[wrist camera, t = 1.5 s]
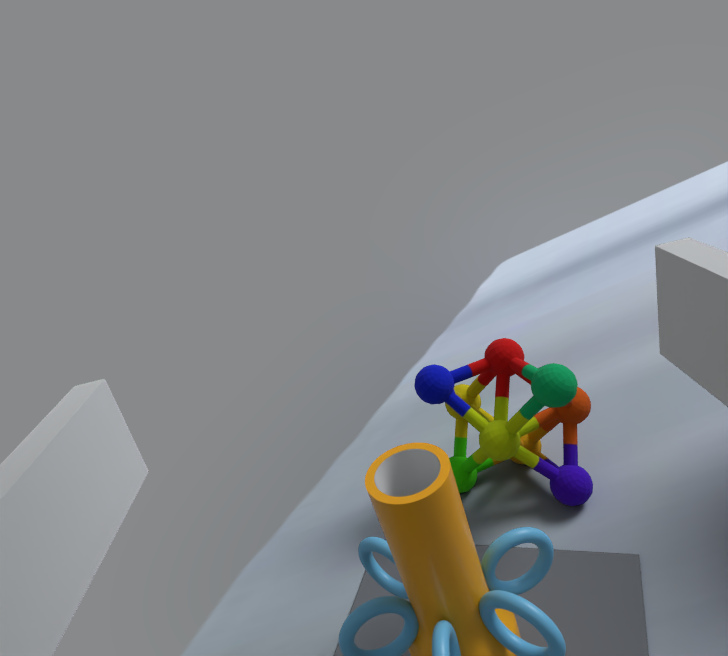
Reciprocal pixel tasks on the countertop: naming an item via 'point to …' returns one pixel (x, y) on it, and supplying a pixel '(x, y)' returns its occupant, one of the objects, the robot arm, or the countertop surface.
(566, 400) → the molecular model
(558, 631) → the cylinder
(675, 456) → the countertop surface
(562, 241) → the countertop surface
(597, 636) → the mat
